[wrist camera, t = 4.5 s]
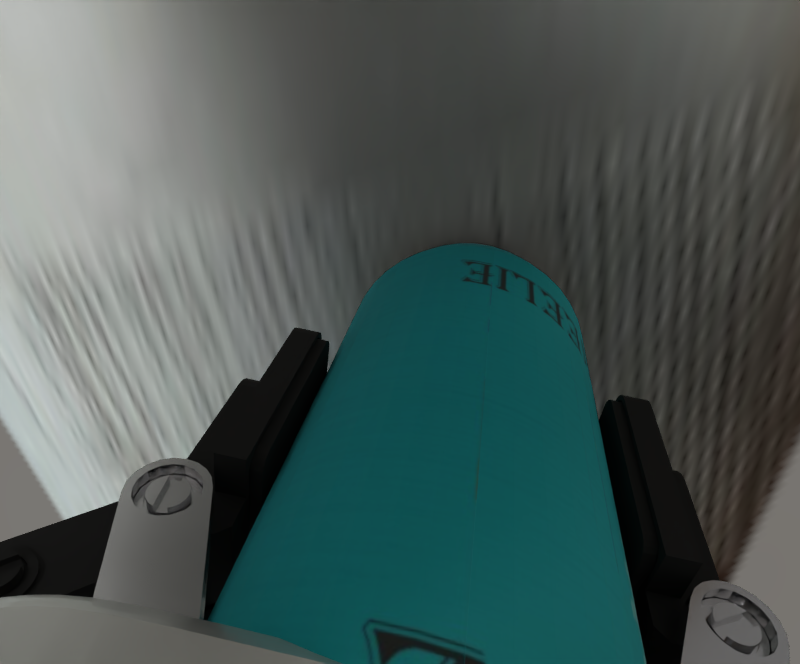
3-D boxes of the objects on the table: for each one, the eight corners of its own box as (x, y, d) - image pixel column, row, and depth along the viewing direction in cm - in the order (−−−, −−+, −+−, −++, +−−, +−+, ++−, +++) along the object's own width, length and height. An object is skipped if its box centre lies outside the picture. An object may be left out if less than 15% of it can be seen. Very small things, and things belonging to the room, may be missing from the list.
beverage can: (497, 432, 18) (459, 1504, 5) (334, 341, 17) (-164, 1322, 5) (622, 293, 15) (1214, 1948, 2) (431, 177, 14) (-200, 1634, 2)
